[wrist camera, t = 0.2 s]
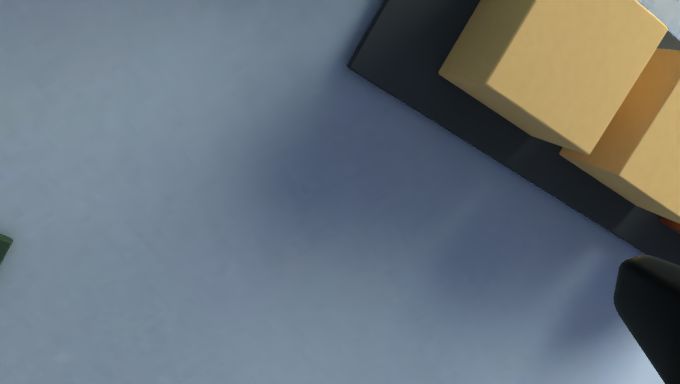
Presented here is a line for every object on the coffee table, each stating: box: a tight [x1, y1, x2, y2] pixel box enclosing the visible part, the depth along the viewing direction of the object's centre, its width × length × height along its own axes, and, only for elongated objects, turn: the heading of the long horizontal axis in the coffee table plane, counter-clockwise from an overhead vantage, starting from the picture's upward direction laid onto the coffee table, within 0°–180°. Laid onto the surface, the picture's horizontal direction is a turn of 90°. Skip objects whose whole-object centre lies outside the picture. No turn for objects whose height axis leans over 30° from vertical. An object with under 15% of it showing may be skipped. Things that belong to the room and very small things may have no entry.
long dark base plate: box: [347, 0, 680, 266], centre depth 24 cm, size 8×22×4 cm, turn 58°
